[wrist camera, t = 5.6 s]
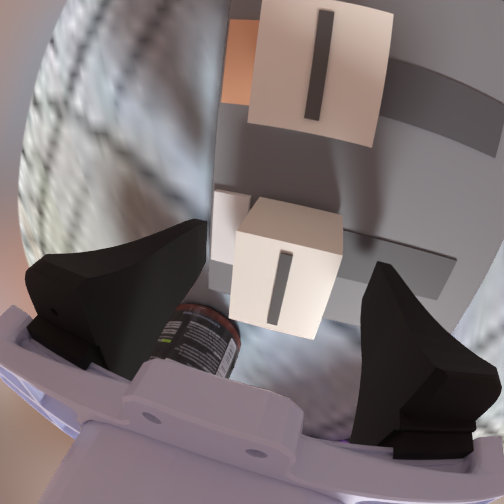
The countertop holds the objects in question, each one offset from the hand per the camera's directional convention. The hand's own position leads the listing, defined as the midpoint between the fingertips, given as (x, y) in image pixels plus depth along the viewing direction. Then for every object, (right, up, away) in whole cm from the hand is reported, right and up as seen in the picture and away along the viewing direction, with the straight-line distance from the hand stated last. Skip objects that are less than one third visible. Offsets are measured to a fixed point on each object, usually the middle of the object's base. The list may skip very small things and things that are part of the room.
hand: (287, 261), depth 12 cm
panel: (+5, +7, -2) cm, 9 cm away
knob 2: (0, +1, +1) cm, 1 cm away
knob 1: (+1, +7, -3) cm, 8 cm away
